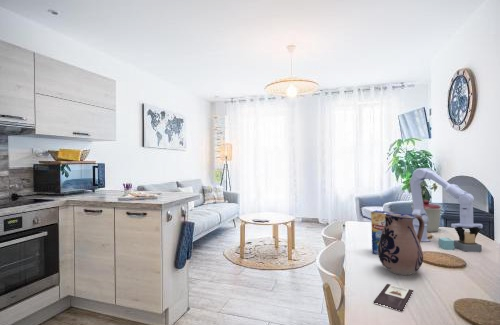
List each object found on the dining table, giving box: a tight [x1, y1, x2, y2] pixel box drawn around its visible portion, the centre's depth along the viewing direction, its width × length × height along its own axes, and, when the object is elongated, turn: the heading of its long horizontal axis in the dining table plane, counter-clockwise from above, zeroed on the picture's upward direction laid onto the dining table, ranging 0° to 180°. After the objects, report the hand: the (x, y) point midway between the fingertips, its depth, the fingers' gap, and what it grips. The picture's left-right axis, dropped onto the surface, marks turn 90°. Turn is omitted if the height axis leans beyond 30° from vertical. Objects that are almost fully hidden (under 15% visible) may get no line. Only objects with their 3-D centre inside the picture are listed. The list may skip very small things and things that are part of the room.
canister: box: [410, 199, 443, 233], centre depth 189 cm, size 18×18×21 cm
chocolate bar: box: [373, 283, 414, 312], centre depth 98 cm, size 9×1×18 cm
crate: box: [453, 239, 483, 253], centre depth 148 cm, size 9×9×4 cm
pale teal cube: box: [438, 237, 455, 251], centre depth 150 cm, size 5×5×5 cm
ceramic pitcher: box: [378, 212, 424, 276], centre depth 121 cm, size 18×21×25 cm
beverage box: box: [370, 210, 398, 255], centre depth 143 cm, size 7×11×22 cm, turn 45°
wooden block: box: [458, 231, 476, 245], centre depth 148 cm, size 5×5×7 cm
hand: (467, 240), depth 148 cm, fingers closed on wooden block, 5 cm apart
